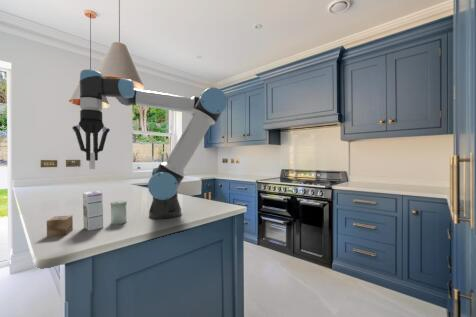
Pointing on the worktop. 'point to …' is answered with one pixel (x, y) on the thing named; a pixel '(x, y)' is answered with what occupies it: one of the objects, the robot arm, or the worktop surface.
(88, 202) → the syrup box
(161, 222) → the worktop surface
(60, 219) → the cardboard box
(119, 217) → the sage jar
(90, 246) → the worktop surface
